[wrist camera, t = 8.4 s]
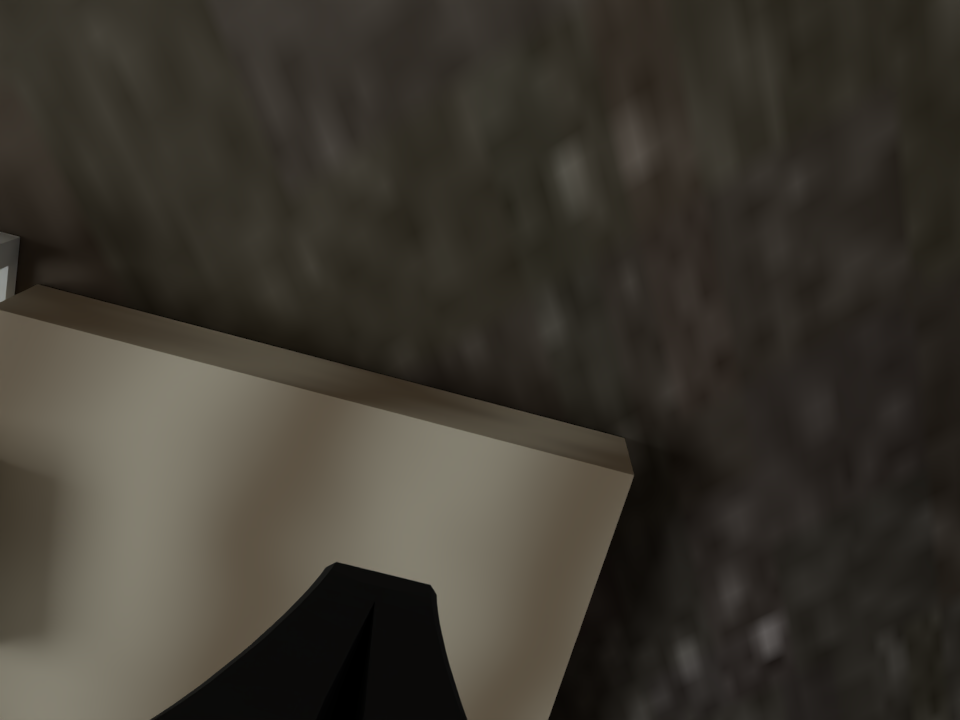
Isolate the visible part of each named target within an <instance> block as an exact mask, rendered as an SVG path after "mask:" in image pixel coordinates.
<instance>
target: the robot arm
mask: <svg viewBox="0 0 960 720" xmlns="http://www.w3.org/2000/svg"><path fill="white" fill-rule="evenodd" d="M150 720H467V717H466V714H465V711H464V709H463V706H462V703H461V700H460V696H459V693H458V690H457V687H456V684H455V681H454V678H453V674H452V671H451V668H450V664H449V660H448V657H447V653H446V649H445V644H444V640H443V636H442V631H441V626H440V621H439V615H438V606H437V594H436V593H435V591H434V589H433V588H432V586H431V585H429V584H425V583H421V582H417V581H413V580H409V579H405V578H401V577H397V576H393V575H388V574H384V573H380V572H376V571H372V570H368V569H364V568H360V567H356V566H352V565H348V564H343V563H339V562H335V563H333V564H331V565H329V566H327V567H326V568H325V569H324V570H323V572H322V573H321V574H320V576H319V577H318V578H317V579H316V581H315V582H314V583H313V584H312V585H311V586H310V588H309V589H308V590H307V591H306V592H305V593H304V594H303V595H302V596H301V597H300V598H299V599H298V600H297V601H296V602H295V603H294V604H293V605H292V606H291V607H290V609H289V610H288V611H287V612H286V613H285V614H284V615H283V616H281V617H280V618H279V619H278V620H277V621H276V622H275V623H274V624H273V625H272V626H271V627H269V628H268V629H267V630H266V631H265V632H264V633H263V634H262V635H261V636H260V637H259V638H257V639H256V640H255V641H254V642H253V643H252V644H251V645H250V646H248V647H247V648H246V649H245V650H244V651H243V652H241V653H240V654H239V655H238V656H236V657H235V658H234V659H233V660H231V661H230V662H229V663H228V664H226V665H225V666H224V667H223V668H221V669H220V670H219V671H218V672H216V673H215V674H214V675H212V676H211V677H210V678H209V679H207V680H206V681H205V682H204V683H202V684H201V685H200V686H198V687H197V688H196V689H194V690H193V691H191V692H190V693H189V694H187V695H186V696H184V697H183V698H182V699H180V700H179V701H177V702H176V703H174V704H173V705H172V706H170V707H169V708H167V709H166V710H164V711H163V712H161V713H160V714H158V715H156V716H155V717H153V718H152V719H150Z"/></svg>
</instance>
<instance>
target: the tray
mask: <svg viewBox="0 0 960 720" xmlns="http://www.w3.org/2000/svg"><path fill="white" fill-rule="evenodd" d="M19 245H20V237H19V236H15V235H11V234H8V233H4V232H0V302H2V301H4V300H6V299H8V298H10V297H12V296H14V295H15V285H16V275H17V265H18V255H19Z"/></svg>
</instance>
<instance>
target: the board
mask: <svg viewBox="0 0 960 720" xmlns="http://www.w3.org/2000/svg"><path fill="white" fill-rule="evenodd" d="M633 477H634V473H633V469H632V465H631V461H630V457H629V453H628V450H627V446H626V442H625V438H622V437H618V436H615V435H611V434H607V433H603V432H599V431H596V430H592V429H588V428H584V427H580V426H576V425H573V424H569V423H565V422H561V421H557V420H554V419H550V418H546V417H542V416H538V415H535V414H531V413H527V412H523V411H519V410H515V409H512V408H508V407H504V406H500V405H496V404H493V403H489V402H485V401H481V400H477V399H473V398H470V397H466V396H462V395H458V394H454V393H451V392H447V391H443V390H439V389H435V388H432V387H428V386H424V385H420V384H416V383H412V382H409V381H405V380H401V379H397V378H393V377H390V376H386V375H382V374H378V373H374V372H370V371H367V370H363V369H359V368H355V367H351V366H348V365H344V364H340V363H336V362H332V361H329V360H325V359H321V358H317V357H313V356H309V355H306V354H302V353H298V352H294V351H290V350H287V349H283V348H279V347H275V346H271V345H267V344H264V343H260V342H256V341H252V340H248V339H245V338H241V337H237V336H233V335H229V334H226V333H222V332H218V331H214V330H210V329H206V328H203V327H199V326H195V325H191V324H187V323H184V322H180V321H176V320H172V319H168V318H165V317H161V316H157V315H153V314H149V313H145V312H142V311H138V310H134V309H130V308H126V307H123V306H119V305H115V304H111V303H107V302H103V301H100V300H96V299H92V298H88V297H84V296H81V295H77V294H73V293H69V292H65V291H62V290H58V289H54V288H50V287H46V286H42V285H39V284H37V285H35V286H33V287H31V288H29V289H27V290H25V291H23V292H21V293H18V294H16V295H14V296H12V297H10V298H8V299H6V300H4V301H2V302H0V720H150V719H152V718H153V717H155V716H156V715H158V714H160V713H161V712H163V711H164V710H166V709H167V708H169V707H170V706H172V705H173V704H174V703H176V702H177V701H179V700H180V699H182V698H183V697H184V696H186V695H187V694H189V693H190V692H191V691H193V690H194V689H196V688H197V687H198V686H200V685H201V684H202V683H204V682H205V681H206V680H207V679H209V678H210V677H211V676H212V675H214V674H215V673H216V672H218V671H219V670H220V669H221V668H223V667H224V666H225V665H226V664H228V663H229V662H230V661H231V660H233V659H234V658H235V657H236V656H238V655H239V654H240V653H241V652H243V651H244V650H245V649H246V648H247V647H248V646H250V645H251V644H252V643H253V642H254V641H255V640H256V639H257V638H259V637H260V636H261V635H262V634H263V633H264V632H265V631H266V630H267V629H268V628H269V627H271V626H272V625H273V624H274V623H275V622H276V621H277V620H278V619H279V618H280V617H281V616H283V615H284V614H285V613H286V612H287V611H288V610H289V609H290V607H291V606H292V605H293V604H294V603H295V602H296V601H297V600H298V599H299V598H300V597H301V596H302V595H303V594H304V593H305V592H306V591H307V590H308V589H309V588H310V586H311V585H312V584H313V583H314V582H315V581H316V579H317V578H318V577H319V576H320V574H321V573H322V572H323V570H324V569H325V568H326V567H327V566H329V565H331V564H333V563H335V562H339V563H343V564H348V565H352V566H356V567H360V568H364V569H368V570H372V571H376V572H380V573H384V574H388V575H393V576H397V577H401V578H405V579H409V580H413V581H417V582H421V583H425V584H429V585H431V586H432V588H433V589H434V591H435V593H436V594H437V606H438V615H439V621H440V626H441V631H442V636H443V640H444V644H445V649H446V653H447V657H448V660H449V664H450V668H451V671H452V674H453V678H454V681H455V684H456V687H457V690H458V693H459V696H460V700H461V703H462V706H463V709H464V711H465V714H466V717H467V720H548V718H549V716H550V713H551V710H552V707H553V704H554V701H555V698H556V696H557V693H558V690H559V687H560V684H561V681H562V679H563V676H564V673H565V670H566V667H567V664H568V662H569V659H570V656H571V653H572V650H573V647H574V645H575V642H576V639H577V636H578V633H579V630H580V628H581V625H582V622H583V619H584V616H585V613H586V611H587V608H588V605H589V602H590V599H591V596H592V594H593V591H594V588H595V585H596V582H597V579H598V577H599V574H600V571H601V568H602V565H603V562H604V560H605V557H606V554H607V551H608V548H609V545H610V543H611V540H612V537H613V534H614V531H615V528H616V525H617V523H618V520H619V517H620V514H621V511H622V508H623V506H624V503H625V500H626V497H627V494H628V491H629V489H630V486H631V483H632V480H633Z"/></svg>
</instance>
